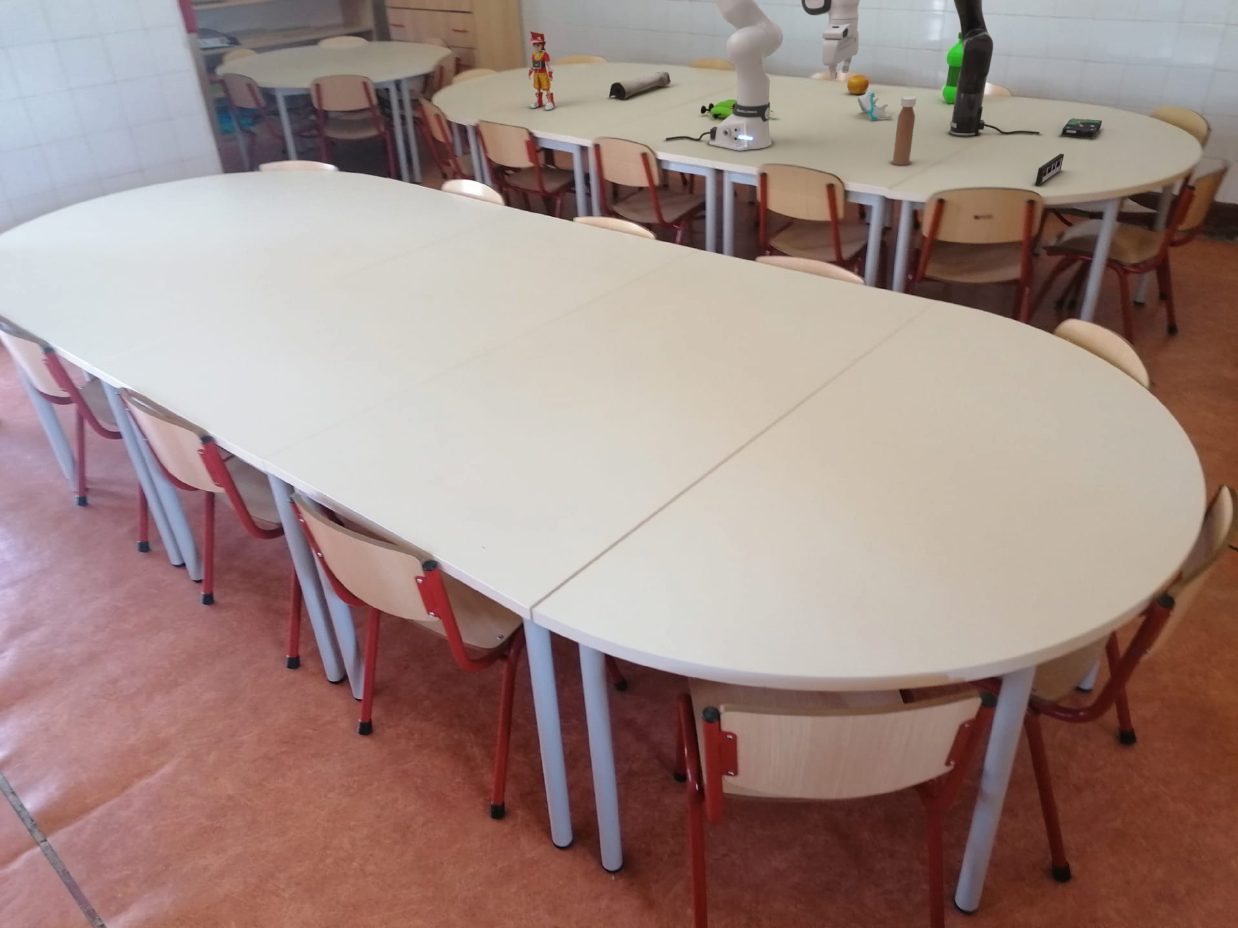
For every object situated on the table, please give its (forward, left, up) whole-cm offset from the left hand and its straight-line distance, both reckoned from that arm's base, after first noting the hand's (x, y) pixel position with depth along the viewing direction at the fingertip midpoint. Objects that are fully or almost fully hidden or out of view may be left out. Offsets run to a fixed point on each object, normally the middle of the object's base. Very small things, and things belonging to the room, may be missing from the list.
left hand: (839, 75), depth 285 cm
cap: (+21, +7, -7) cm, 23 cm away
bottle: (+21, +7, -27) cm, 35 cm away
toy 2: (-56, +40, -27) cm, 74 cm away
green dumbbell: (+12, +91, -27) cm, 95 cm away
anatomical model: (-9, +59, -27) cm, 65 cm away
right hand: (-13, +31, +2) cm, 34 cm away
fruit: (-28, +91, -27) cm, 99 cm away
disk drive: (+64, +65, -27) cm, 95 cm away
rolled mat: (-116, +60, -27) cm, 133 cm away
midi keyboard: (+66, +10, -27) cm, 72 cm away
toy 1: (-141, +21, -27) cm, 145 cm away
